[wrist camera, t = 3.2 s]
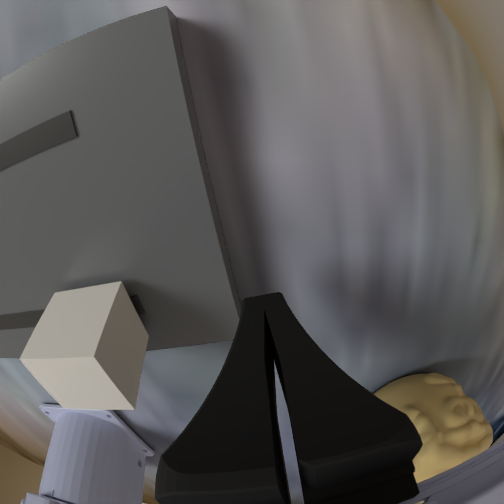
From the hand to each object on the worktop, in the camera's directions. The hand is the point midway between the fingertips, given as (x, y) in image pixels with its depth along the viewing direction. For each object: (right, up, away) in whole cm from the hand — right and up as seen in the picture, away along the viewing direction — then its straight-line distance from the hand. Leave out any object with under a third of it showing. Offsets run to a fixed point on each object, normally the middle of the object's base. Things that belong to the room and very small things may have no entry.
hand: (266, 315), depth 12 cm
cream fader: (-7, 0, +2) cm, 7 cm away
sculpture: (+12, -10, +12) cm, 20 cm away
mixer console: (-16, +3, +2) cm, 16 cm away
